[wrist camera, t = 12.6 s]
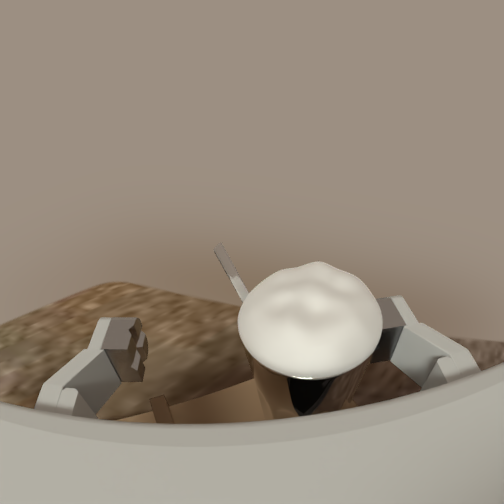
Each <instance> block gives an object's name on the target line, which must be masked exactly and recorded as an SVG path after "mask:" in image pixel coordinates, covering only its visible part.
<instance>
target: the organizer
mask: <svg viewBox="0 0 504 504" xmlns="http://www.w3.org/2000/svg"><path fill="white" fill-rule="evenodd" d="M150 403H151V407H152V410H153V411H151V412H147V413H143V414H139V415H135V416H131V417H127V418H123V419H119V420H115V421H125V422H140V423H164V424H211V423H235V422H251V421H263V420H265V418H264V414H263V410H262V407H261V403H260V400H259V396H258V392H257V388H256V384H255V381H254V379H251V380H248V381H245V382H243V383H240V384H237V385H234V386H231V387H229V388H226V389H223V390H220V391H217V392H214V393H211V394H208V395H205V396H202V397H199V398H195V399H192V400H189V401H186V402H182V403H179V404H176V405H172V406H169V405H168V403H167V401H166V399H165V396H164V395H161V396H158V397H154V398H151V399H150ZM354 407H358V406H357V404H356V403H355V402H354V401H353V399H352V401H351V403H350V405H349V407H348V409H349V408H354Z"/></svg>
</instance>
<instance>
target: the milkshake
mask: <svg viewBox="0 0 504 504" xmlns="http://www.w3.org/2000/svg"><path fill="white" fill-rule="evenodd" d="M214 252H215V254H216V255H217V258H218V259H219V261H220V263H221V264H222V266H223V268H224V270H225V272H226V274H227V276H228V277H229V279H230V281H231V283H232V284H233V286H234V288H235V290H236V292H237V293H238V295H239V297H240V299H241V300H242V302H243V304H242V306H241V309H240V311H239V315H238V330H239V334H240V337H241V340H242V343H243V346H244V350H245V353H246V356H247V359H248V362H249V365H250V368H251V372H252V375H253V378H254V381H255V384H256V388H257V392H258V396H259V400H260V403H261V407H262V410H263V414H264V418H265V420H274V419H283V418H292V417H300V416H307V415H314V414H320V413H326V412H332V411H338V410H344V409H348V407H349V405H350V403H351V401H352V398H353V396H354V394H355V392H356V389H357V387H358V385H359V383H360V381H361V379H362V377H363V375H364V373H365V371H366V369H367V367H368V364H369V362H370V360H371V358H372V356H373V354H374V351H375V349H376V347H377V344H378V342H379V340H380V337H381V333H382V325H383V320H382V313H381V310H380V307H379V305H378V303H377V301H376V299H375V298H374V296H373V295H372V293H371V292H370V290H369V289H368V287H367V286H366V285H365V284H364V283H363V282H362V281H361V280H360V279H359V278H358V277H356V276H355V275H353V274H351V273H348V272H345V271H342V270H340V269H337V268H335V267H333V266H331V265H329V264H327V263H323V262H312V263H309V264H305V265H303V266H300V267H296V268H290V269H283V270H280V271H278V272H276V273H274V274H272V275H271V276H269V277H268V278H266V279H265V280H263V281H262V282H261V283H260V284H259V285H257V286H256V287H255V288H254V289H253V290H252V291H251V292H250V293H249V292H248V290H247V289H246V287H245V285H244V283H243V281H242V279H241V278H240V276H239V274H238V272H237V270H236V268H235V267H234V265H233V263H232V261H231V259H230V257H229V256H228V254H227V252H226V250H225V248H224V246H223V245H222V243H219V244H218V245H217V246H216V247H215V248H214Z"/></svg>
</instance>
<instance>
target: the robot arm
mask: <svg viewBox="0 0 504 504" xmlns="http://www.w3.org/2000/svg"><path fill="white" fill-rule="evenodd" d="M376 301H377V303H378V305H379V307H380V310H381V313H382V320H383V325H382V333H381V337H380V340H379V342H378V344H377V347H376V349H375V351H374V354H373V356H372V358H371V360H370V363H376V362H382V361H388V360H390V361H391V362H392V363H393V364H394V365H395V366H397V367H398V368H399V369H400V370H401V371H403V372H404V373H405V374H406V375H407V376H409V377H410V378H411V379H412V380H413V381H414V382H416V383H417V384H418V385H419V386H420V387H422V388H421V390H420V392H417V393H413V394H409V395H406V396H402V397H398V398H394V399H390V400H386V401H382V402H377V403H373V404H368V405H364V406H359V407H354V408H349V409H344V410H338V411H332V412H326V413H320V414H314V415H307V416H300V417H292V418H283V419H274V420H263V421H251V422H235V423H211V424H164V423H140V422H125V421H113V420H103V419H98V417H97V416H96V413H97V412H98V411H99V410H100V409H101V407H102V406H103V405H104V404H105V402H106V401H107V400H108V399H109V398H110V396H111V395H112V394H113V393H114V392H115V390H116V389H117V388H118V387H119V386H120V384H121V382H143V377H144V372H145V366H144V364H143V362H144V361H145V360H146V359H147V356H148V341H147V337H146V334H145V333H143V332H142V331H141V328H142V323H141V321H140V319H139V318H115V317H113V318H100V319H99V320H98V323H97V326H96V328H95V331H94V333H93V336H92V339H91V341H90V344H89V347H88V349H84V350H83V351H81V352H80V353H79V354H78V355H77V356H75V357H74V358H73V359H72V360H71V361H69V362H68V363H67V364H66V365H65V366H64V367H62V368H61V369H60V370H59V371H58V372H56V373H55V374H54V375H53V376H52V377H51V378H49V379H48V380H47V381H46V382H45V383H44V384H43V386H42V388H41V391H40V394H39V396H38V399H37V402H36V405H35V408H34V409H32V408H27V407H22V406H18V405H13V404H9V403H5V402H1V401H0V504H504V362H503V363H500V364H498V365H496V366H493V367H491V368H488V369H486V370H483V371H481V370H480V368H479V367H478V365H477V363H476V362H475V360H474V358H473V357H472V355H471V354H470V352H469V350H468V349H466V348H465V347H463V346H461V345H460V344H458V343H456V342H454V341H453V340H451V339H449V338H448V337H446V336H444V335H443V334H441V333H439V332H437V331H436V330H434V329H432V328H430V327H429V326H427V325H425V324H424V323H419V322H418V321H417V319H416V318H415V316H414V314H413V313H412V311H411V310H410V308H409V306H408V305H407V303H406V302H405V300H404V299H403V297H402V296H400V295H399V296H392V297H388V298H380V299H376Z"/></svg>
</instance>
